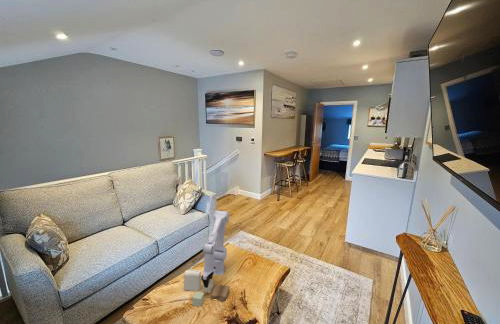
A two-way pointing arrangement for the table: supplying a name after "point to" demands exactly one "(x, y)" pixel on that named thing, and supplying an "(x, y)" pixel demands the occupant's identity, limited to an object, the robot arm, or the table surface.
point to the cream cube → (208, 287)
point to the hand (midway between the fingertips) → (208, 282)
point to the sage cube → (198, 298)
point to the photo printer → (192, 280)
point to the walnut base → (220, 292)
